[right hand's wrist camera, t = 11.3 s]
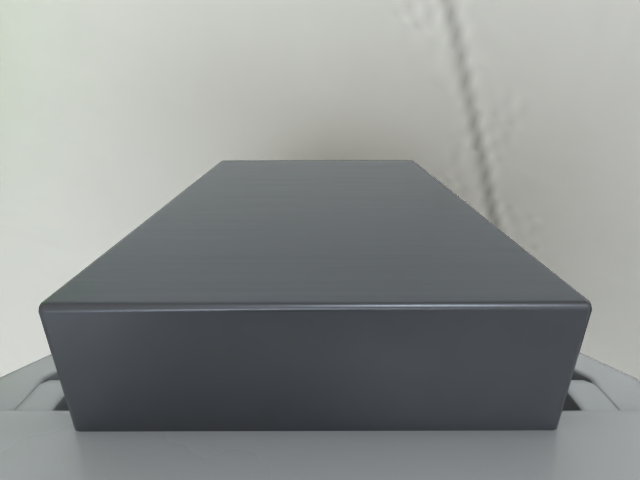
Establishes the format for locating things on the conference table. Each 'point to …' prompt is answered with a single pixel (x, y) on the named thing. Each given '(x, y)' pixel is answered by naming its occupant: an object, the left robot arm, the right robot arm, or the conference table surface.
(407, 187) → the bar
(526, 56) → the conference table surface
